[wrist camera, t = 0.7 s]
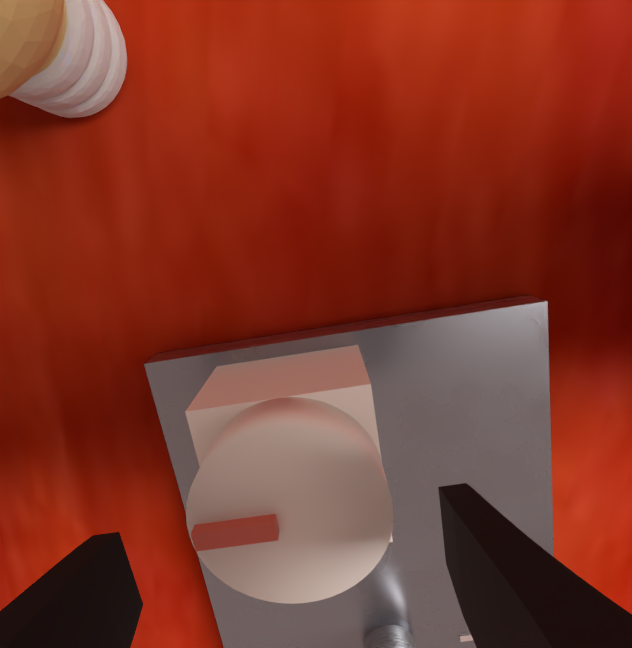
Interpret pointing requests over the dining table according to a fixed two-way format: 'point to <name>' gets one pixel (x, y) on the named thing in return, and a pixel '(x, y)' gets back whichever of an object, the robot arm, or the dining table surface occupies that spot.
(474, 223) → the dining table surface
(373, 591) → the panel
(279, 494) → the knob
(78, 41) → the light bulb
